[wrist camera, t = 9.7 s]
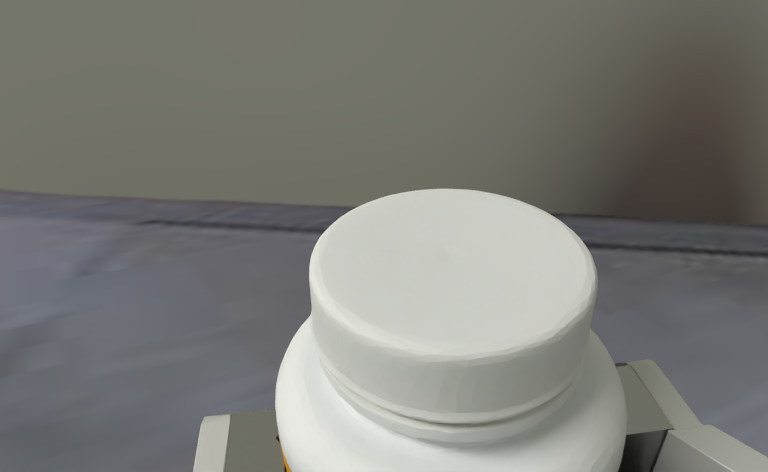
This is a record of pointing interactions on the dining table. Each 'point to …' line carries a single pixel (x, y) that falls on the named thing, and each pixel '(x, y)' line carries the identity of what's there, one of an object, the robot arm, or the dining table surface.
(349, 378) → the supplement bottle
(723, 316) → the dining table surface
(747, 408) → the dining table surface
